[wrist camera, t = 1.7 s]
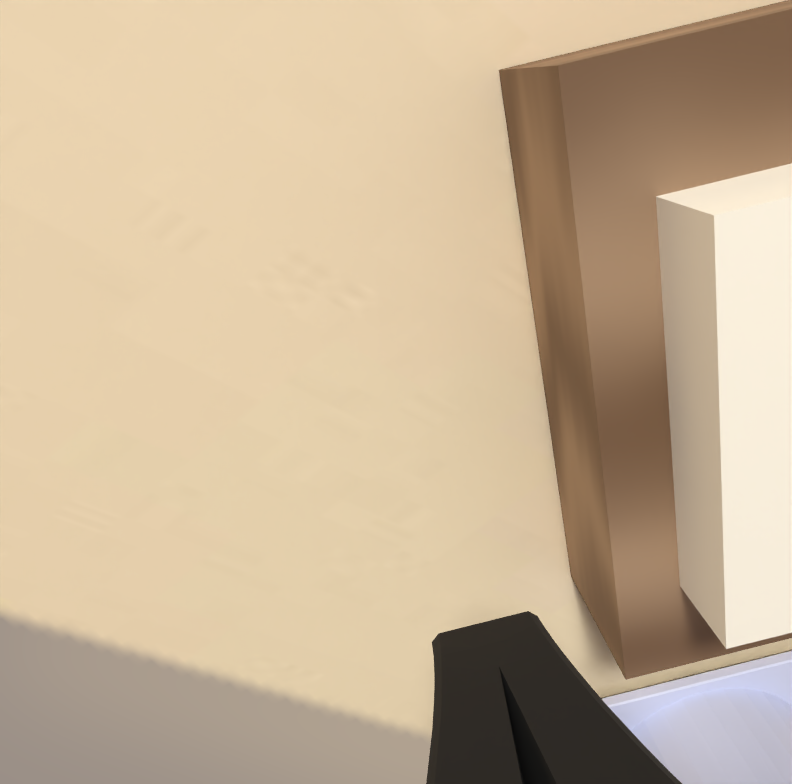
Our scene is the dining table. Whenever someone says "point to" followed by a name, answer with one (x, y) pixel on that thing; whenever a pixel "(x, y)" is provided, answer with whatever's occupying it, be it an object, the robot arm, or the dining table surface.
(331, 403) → the dining table surface
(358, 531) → the dining table surface
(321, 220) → the dining table surface
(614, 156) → the brown wooden block
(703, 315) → the block
